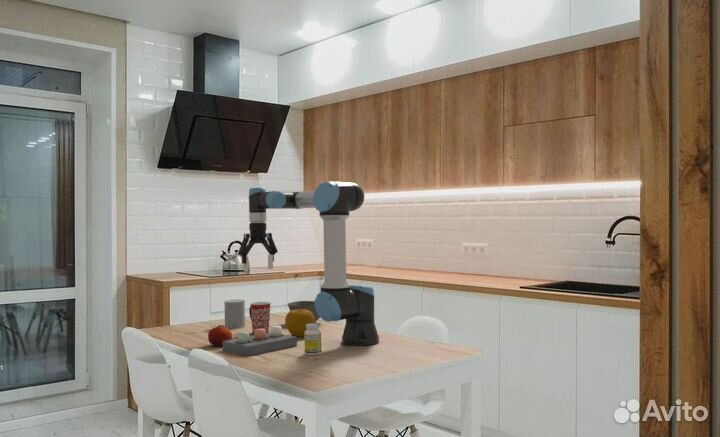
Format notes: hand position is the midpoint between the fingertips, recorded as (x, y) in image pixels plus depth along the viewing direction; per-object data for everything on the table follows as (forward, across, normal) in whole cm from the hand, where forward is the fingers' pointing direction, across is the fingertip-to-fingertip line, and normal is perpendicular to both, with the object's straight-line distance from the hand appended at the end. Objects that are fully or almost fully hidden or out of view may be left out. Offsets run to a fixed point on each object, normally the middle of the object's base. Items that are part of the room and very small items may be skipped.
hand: (258, 270), depth 270 cm
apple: (+28, -7, +19) cm, 35 cm away
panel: (+28, +20, +26) cm, 43 cm away
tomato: (+28, +27, +9) cm, 40 cm away
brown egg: (+25, +20, +26) cm, 41 cm away
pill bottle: (+28, +14, +50) cm, 59 cm away
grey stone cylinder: (+28, -2, -22) cm, 36 cm away
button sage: (+25, +28, +26) cm, 45 cm away
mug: (+28, 0, -1) cm, 28 cm away
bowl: (+28, -30, -2) cm, 41 cm away
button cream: (+25, +12, +26) cm, 38 cm away
